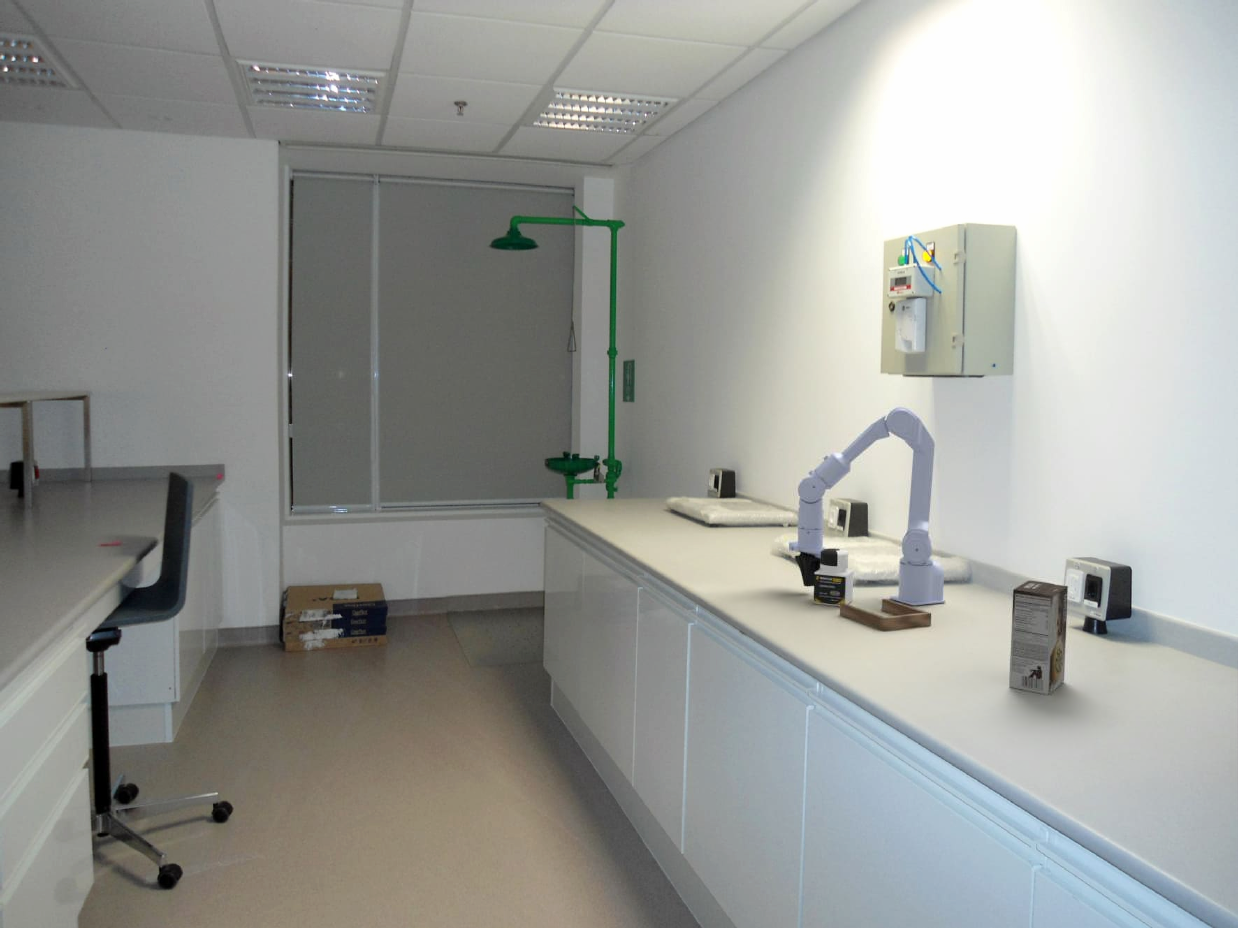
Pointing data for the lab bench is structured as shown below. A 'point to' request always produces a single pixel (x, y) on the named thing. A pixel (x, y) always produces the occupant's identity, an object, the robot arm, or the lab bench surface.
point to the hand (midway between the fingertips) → (809, 585)
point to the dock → (904, 618)
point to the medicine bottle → (833, 579)
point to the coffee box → (1038, 637)
